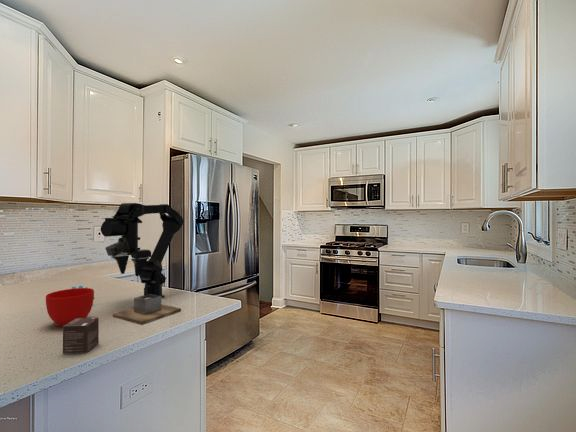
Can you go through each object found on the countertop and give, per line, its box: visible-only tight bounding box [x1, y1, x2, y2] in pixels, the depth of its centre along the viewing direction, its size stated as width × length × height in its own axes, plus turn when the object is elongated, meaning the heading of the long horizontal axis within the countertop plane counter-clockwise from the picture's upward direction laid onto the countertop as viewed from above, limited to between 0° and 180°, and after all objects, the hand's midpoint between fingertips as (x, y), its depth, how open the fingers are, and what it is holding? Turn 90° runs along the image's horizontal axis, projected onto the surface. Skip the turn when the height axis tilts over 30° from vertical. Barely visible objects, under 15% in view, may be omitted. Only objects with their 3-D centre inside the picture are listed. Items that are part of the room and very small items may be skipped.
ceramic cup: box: [45, 287, 95, 328], centre depth 102 cm, size 13×17×10 cm
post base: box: [112, 298, 182, 326], centre depth 110 cm, size 16×16×6 cm
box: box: [62, 317, 100, 355], centre depth 81 cm, size 6×6×7 cm
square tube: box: [133, 294, 162, 315], centre depth 110 cm, size 6×6×5 cm
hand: (129, 274), depth 120 cm, fingers open, 9 cm apart
